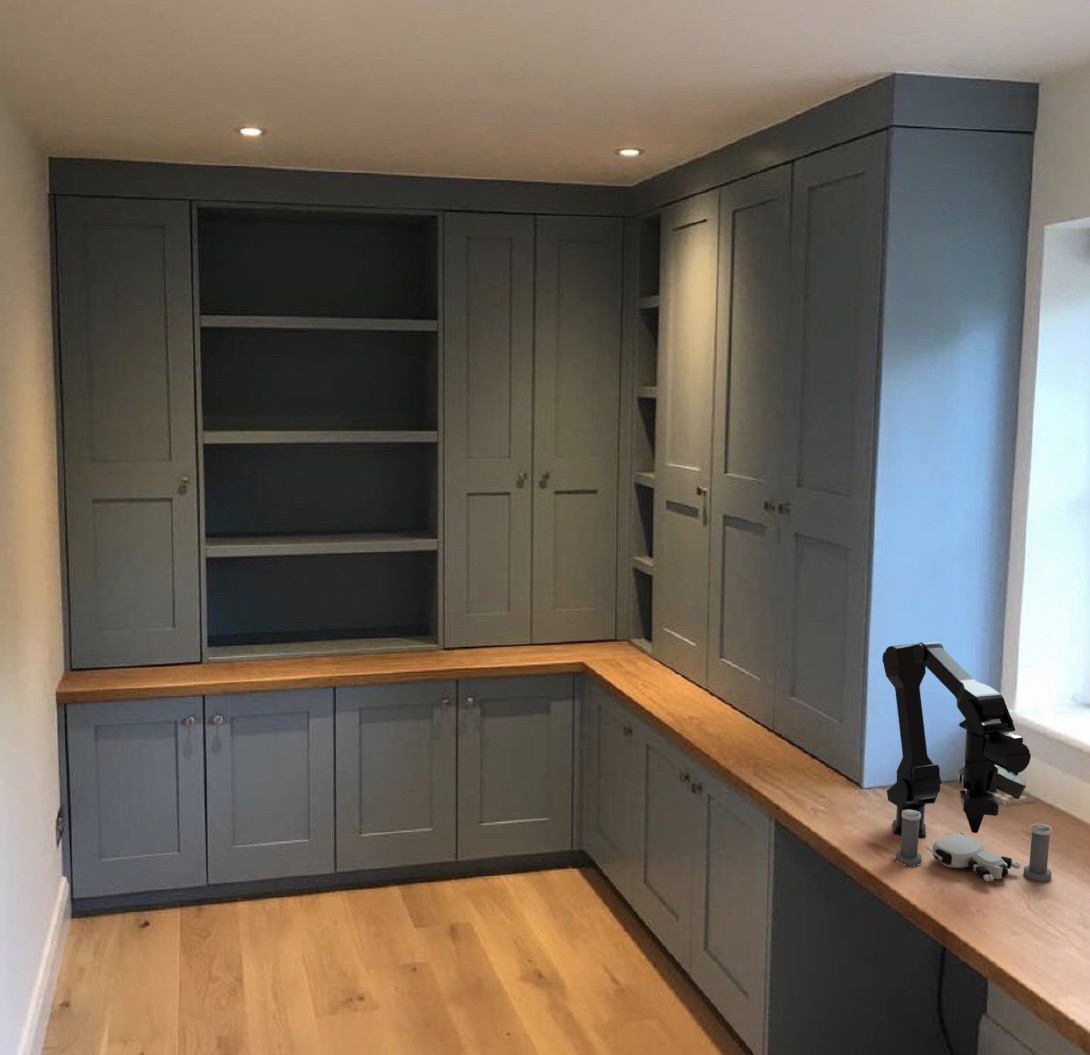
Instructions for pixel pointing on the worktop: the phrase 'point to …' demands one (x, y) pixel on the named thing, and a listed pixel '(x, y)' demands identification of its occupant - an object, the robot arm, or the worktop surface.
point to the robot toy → (971, 856)
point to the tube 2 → (1039, 854)
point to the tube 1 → (909, 839)
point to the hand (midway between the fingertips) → (974, 832)
